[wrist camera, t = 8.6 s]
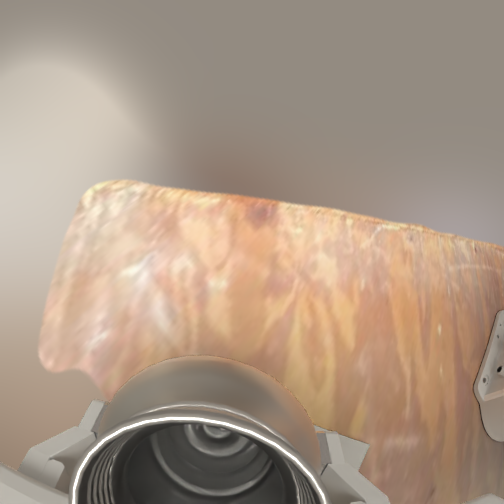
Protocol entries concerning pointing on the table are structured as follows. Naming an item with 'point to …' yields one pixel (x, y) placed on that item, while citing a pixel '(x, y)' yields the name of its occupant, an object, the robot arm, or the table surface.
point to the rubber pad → (351, 449)
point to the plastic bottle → (201, 440)
